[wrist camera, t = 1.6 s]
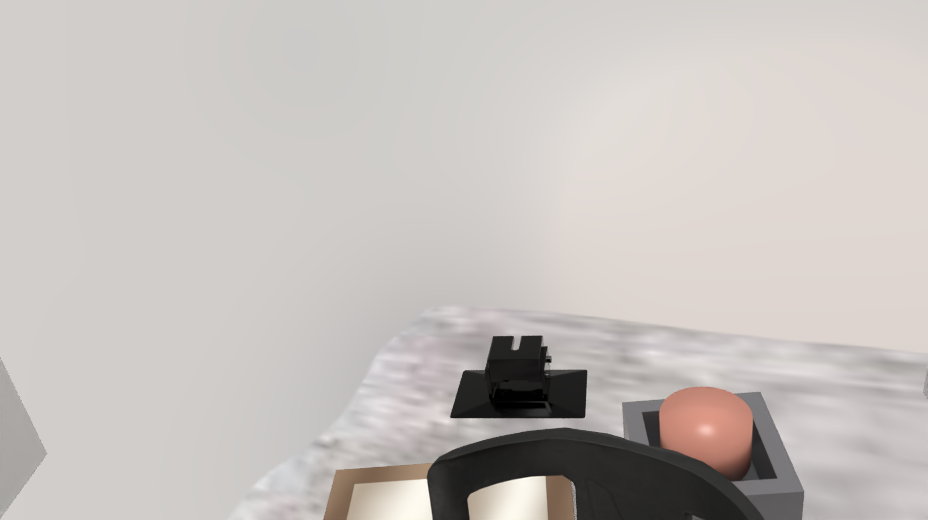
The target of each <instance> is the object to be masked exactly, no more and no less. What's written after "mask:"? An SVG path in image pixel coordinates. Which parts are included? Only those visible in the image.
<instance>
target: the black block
mask: <svg viewBox="0 0 928 520" xmlns="http://www.w3.org/2000/svg"><path fill="white" fill-rule="evenodd" d="M513 346H514V336H493V338H492V343H491V347H490V351H489V355H488V359H487V364H486V368H485V370H465V371H464V372H463V374H462V378H461V381H460V385H459V388H458V392H457V395H456V398H455V402H454V405H453V409H452V412H451V415H450V417H451V418H584V417H585V409H586V387H587V370H550V364H549V363H551V362H552V358H551V356H549V354H548V346H544V343H543V336H521V341H520V346H519V349H518V350H513Z"/></svg>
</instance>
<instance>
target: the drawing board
mask: <svg viewBox="0 0 928 520" xmlns="http://www.w3.org/2000/svg"><path fill="white" fill-rule="evenodd" d="M432 464H433V463H427V464H414V465H400V466H386V467H372V468H359V469H345V470H336V473H335V477H334V481H333V485H332V488H331V492H330V496H329V500H328V504H327V508H326V512H325V516H324V519H323V520H433V519H432V512H431V504H430V497H429V491H428V484H427V474H428V470H429V468H430V467H431V466H432ZM467 500H468V508H469V516H470V520H574V510H573V499H572V489H571V480H569V479H567V478H566V477H564V476H562V475H560V476H536V477H527V478H521V479H515V480H510V481H506V482H502V483H498V484H495V485H492V486H489V487H486V488H482V489H480V490H478V491H475V492H473V493H471V494H470V495H469V497H468V499H467Z"/></svg>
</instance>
